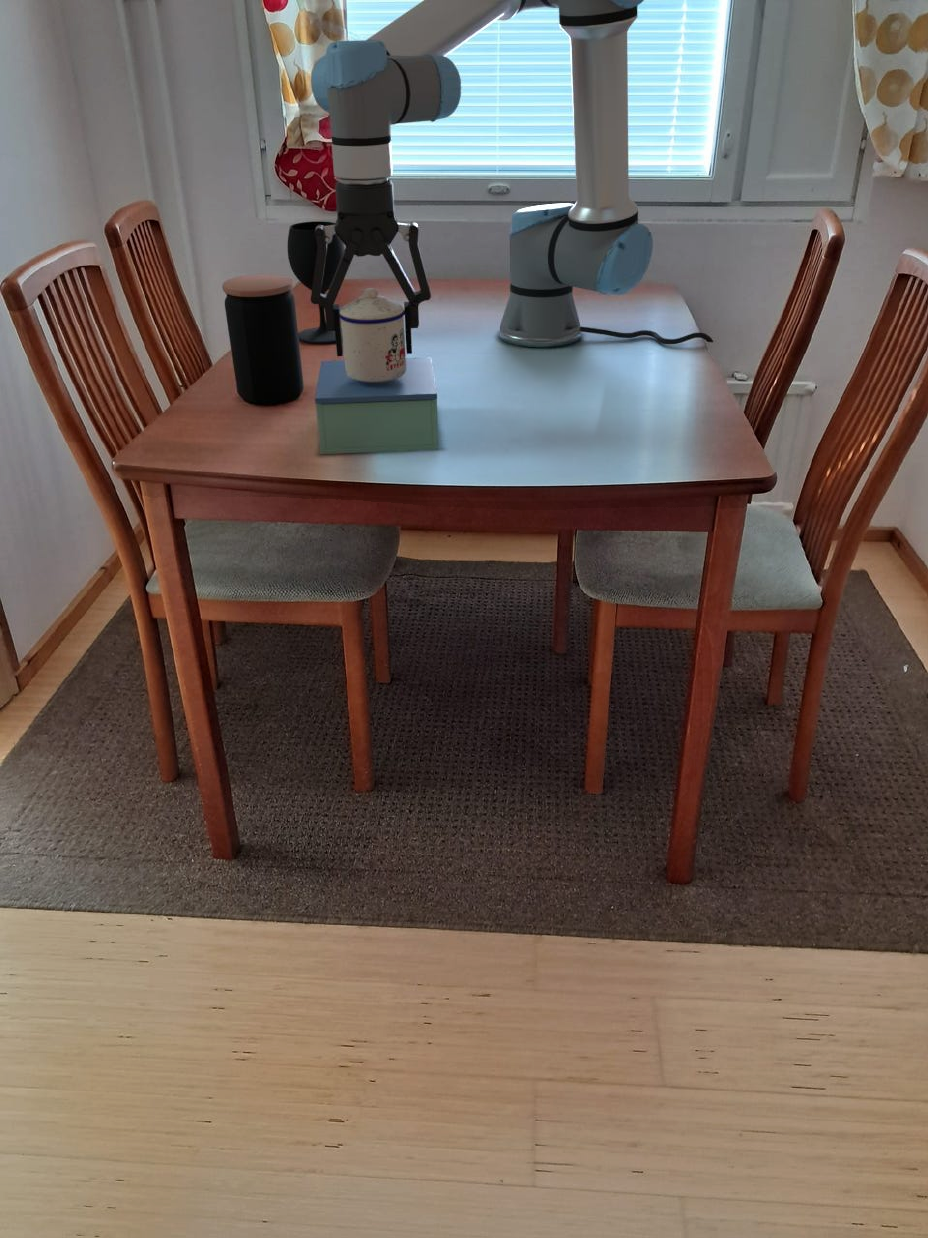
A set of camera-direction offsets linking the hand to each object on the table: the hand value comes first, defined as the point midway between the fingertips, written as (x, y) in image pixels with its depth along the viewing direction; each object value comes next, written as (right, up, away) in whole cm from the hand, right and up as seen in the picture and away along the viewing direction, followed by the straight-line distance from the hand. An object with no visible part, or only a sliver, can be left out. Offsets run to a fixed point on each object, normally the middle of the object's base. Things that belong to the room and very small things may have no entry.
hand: (374, 351), depth 136 cm
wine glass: (-14, +16, +48) cm, 52 cm away
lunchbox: (0, -10, +6) cm, 12 cm away
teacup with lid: (0, -2, +2) cm, 3 cm away
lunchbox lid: (0, -4, +2) cm, 4 cm away
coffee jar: (-19, -2, +20) cm, 27 cm away
